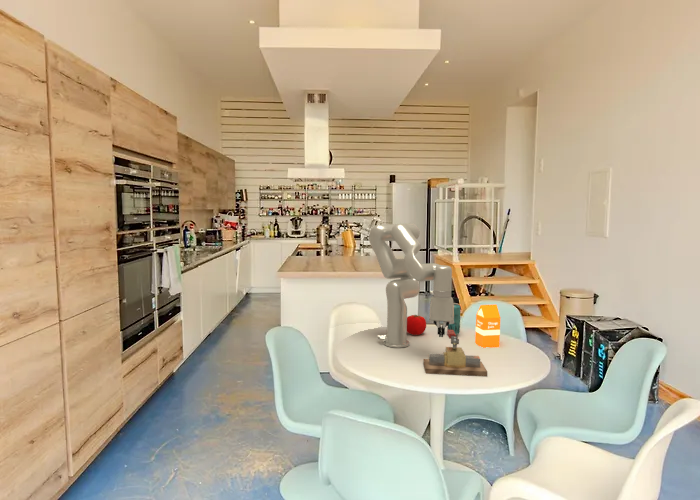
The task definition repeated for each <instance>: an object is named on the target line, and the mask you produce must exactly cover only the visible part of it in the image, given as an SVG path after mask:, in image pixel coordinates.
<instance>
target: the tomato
mask: <svg viewBox="0 0 700 500" xmlns="http://www.w3.org/2000/svg"><path fill="white" fill-rule="evenodd" d="M426 328H427V320H426V318H425V317H424V316H421V315H418V314H410V315H407V334H409V335H411V336H419V335H422V334H423V333H424V332H426Z"/></svg>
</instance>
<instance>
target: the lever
mask: <svg viewBox="0 0 700 500" xmlns="http://www.w3.org/2000/svg"><path fill="white" fill-rule="evenodd" d="M446 330H447V329H446ZM446 335H447V336H448V339H450V344H452V345H453V344H455V345H457V346H458V345H460V338H458V336H456V335H457V334H455V332H454V330H447V331H446Z"/></svg>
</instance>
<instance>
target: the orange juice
mask: <svg viewBox="0 0 700 500" xmlns="http://www.w3.org/2000/svg"><path fill="white" fill-rule="evenodd" d="M501 318H502V317H501V316H500V311H499V309H498V304H480V306H479V308H478V310H477V312H476V314H475V335H474V337H475V338H474V339H475V341H474V344H475V343H476V344H475V345H477V344H478V345H477V346H478V347H480V346H481V347H480V348H482V347H483V348H482V349H485V348H486V347H490V348H500V339H501V337H500V335H501Z"/></svg>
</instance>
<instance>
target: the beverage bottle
mask: <svg viewBox="0 0 700 500" xmlns="http://www.w3.org/2000/svg"><path fill="white" fill-rule="evenodd" d="M452 298H453V303H454V324H449V325H447V326H446V328H447V329H446V330H454V332H455V334H456V335H459V334H460V333H461V311H462V309H461V305H460V304H459V302H460V299H459V298H458V297H452Z"/></svg>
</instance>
